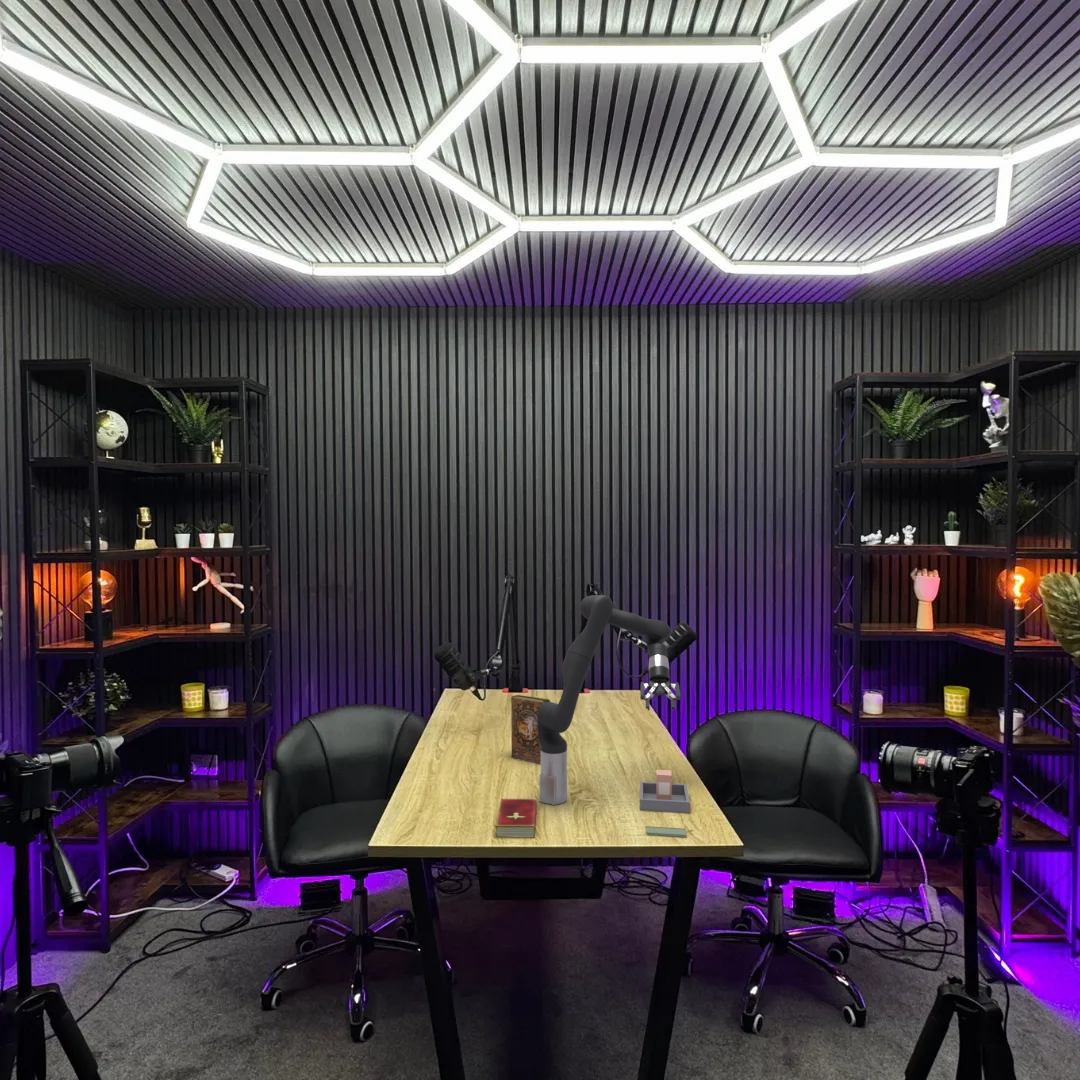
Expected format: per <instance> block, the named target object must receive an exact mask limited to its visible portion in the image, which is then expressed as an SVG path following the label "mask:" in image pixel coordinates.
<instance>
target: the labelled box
mask: <svg viewBox="0 0 1080 1080" xmlns="http://www.w3.org/2000/svg"><path fill="white" fill-rule="evenodd" d="M672 777H673V775H672V770H671V769H667V770H666V769H656V773H655V778H656V782H655V783H656V799H660V800H672V784H673V782H672V781H673V778H672Z"/></svg>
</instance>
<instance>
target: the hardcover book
mask: <svg viewBox="0 0 1080 1080" xmlns="http://www.w3.org/2000/svg"><path fill="white" fill-rule="evenodd" d="M537 802H538V801H537V799H536V798H500V803H499V806H498V813H497V817H496V822H495V823H496V824H495V828H496V836H497V837H499V838H501V837H503V838H506V837H507V838H510V837H511V838H516V837H517V838H535V837H536V828H537V827H536V825H537V810H538V809H537V807H538V805H537Z"/></svg>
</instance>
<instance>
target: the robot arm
mask: <svg viewBox="0 0 1080 1080" xmlns="http://www.w3.org/2000/svg"><path fill="white" fill-rule="evenodd" d="M613 604H614V603H613V601H612V599H611V597H609V596H608V595H603V594H600V595H599V594H597V595H596V594H595V595H593V594H592V595H588V596H586V597H584V598H583V599H582V600H581V601H580V604H579V609H580V613H581V614H582V617H584V618H585V619H586V620H587V623H586V625H585V627H584V629H583V630H582V631H581V633H580V634H579V635H578V636H577V637H576V638H575V639H574V640H573V642H572V643H571V645H570V646H569V647H568V649H567V651H566V654H565V657H564V659H563V662H562V664H561V665H562V666H561V671H562V674H561V675H562V681H563V682H562V683H563V687H562V688H563V689H562V692H561V696H560V699H559V702H558V703H556V702H552V701H550V702H545V703H543V704H542V705H541V707H540V708H539V711H538V716H537V726H538V740H539V743H540V747H541V764H540V773H539V802H541V803H544V804H549V805H553V806H556V805H560V804H563V803H567V801H568V743H567V740H566V739H565V738H564V737H563V736H562V735H561V734H562V733H565V732H566V731H567V730H568V729H569V728H570V726H571V723H572V721H573V718H574V714H575V711H576V707H577V704H578V699H579V696H580V693H581V690H582V688H583V684H584V681H585V679H586V677H587V674H588V672H589V669H590V666H591V663H592V660H593V657H594V654H595V652H596V649H597V647H598V645H599V642H600V640H601V636H602V635H603V632H604V631H605V629H606V627H607V625H608V624H609V625H611V626H614V627H617V628H620V629H622V630H624V631H627V632H629V633H632V634H634V635H637V636H641V637H644V641H645V644H646V647H647V651H648V683H645V682H643V681H641V682H640V690H639V691H640V693H639V697H640V698H639V699H640V701H642V700H643V701H645V709H647V711H650V708H651V707H650V705H651V704H650V700H651V699H652V698H654V696H657V697H658V696H666V697H667V698H668V699H670V701H671V702H670V704H671V711H672V712H673V711H675V710H676V707H677V704H676V701H680V700H681V689H680V684H679V682H675V683H671V679H670V676H671V675H670V663H669V658H668V655H669V654H668V648H667V645H665V644H664V643H661V642H663V641H665V640H666V639H668V638H669V637H670V636H671V632H672V629H671V628H670V626H669V625H668V624H667V623H666V622H664V621H662V620H660V619H652V618H646V617H643V616H640V615H639V614H636V613H632V612H629V611H625V610H621V609H617V608H614V605H613ZM647 688H648V689H649V690H648V692H647V693H646V694H645V690H647ZM671 689H673V690H674V691H675V694H676V695H675V694H674V693H673V692H672V690H671Z"/></svg>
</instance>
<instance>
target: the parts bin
mask: <svg viewBox="0 0 1080 1080" xmlns="http://www.w3.org/2000/svg"><path fill="white" fill-rule="evenodd" d="M690 803H691V802H690V796H689V790H688V785H687V784H686V783H672V800H660V799H656V782H652V781H651V782H650V781H649V782H648V781H640V782H639V811H645V812H647V811H648V812H665V813H676V814H677V813H682V814H690V811H691V809H690V808H691V807H690V806H691V804H690Z"/></svg>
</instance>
